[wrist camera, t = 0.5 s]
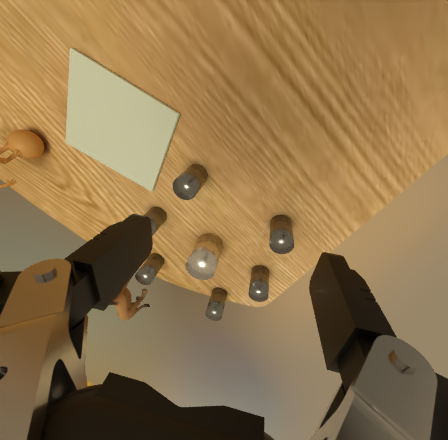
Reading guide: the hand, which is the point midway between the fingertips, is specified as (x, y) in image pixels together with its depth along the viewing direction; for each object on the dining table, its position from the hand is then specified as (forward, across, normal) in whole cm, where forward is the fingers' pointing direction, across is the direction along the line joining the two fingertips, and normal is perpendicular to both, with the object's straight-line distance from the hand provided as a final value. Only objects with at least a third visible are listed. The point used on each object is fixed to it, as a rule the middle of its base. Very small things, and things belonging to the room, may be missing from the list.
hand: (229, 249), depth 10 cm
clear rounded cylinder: (+20, +5, +15) cm, 26 cm away
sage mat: (+20, +19, -1) cm, 27 cm away
